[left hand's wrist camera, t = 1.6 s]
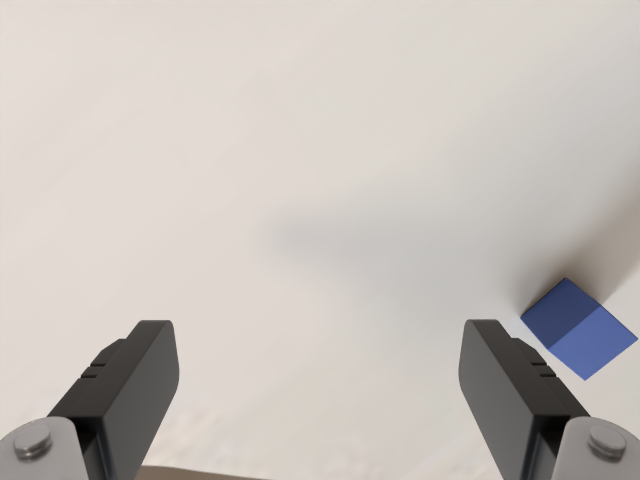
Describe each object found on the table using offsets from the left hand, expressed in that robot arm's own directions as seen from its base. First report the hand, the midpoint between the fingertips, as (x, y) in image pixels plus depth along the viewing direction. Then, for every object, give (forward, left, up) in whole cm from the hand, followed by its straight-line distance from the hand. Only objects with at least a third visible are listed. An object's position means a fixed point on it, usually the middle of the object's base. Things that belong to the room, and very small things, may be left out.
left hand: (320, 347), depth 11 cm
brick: (-12, +19, -20) cm, 30 cm away
